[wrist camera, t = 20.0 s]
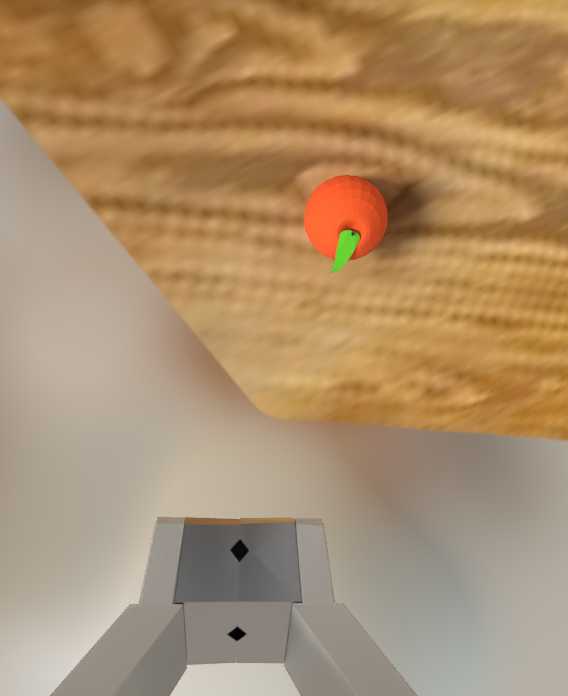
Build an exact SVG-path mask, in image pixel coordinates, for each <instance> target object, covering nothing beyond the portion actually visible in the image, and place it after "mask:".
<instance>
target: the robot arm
mask: <svg viewBox="0 0 568 696" xmlns="http://www.w3.org/2000/svg"><path fill="white" fill-rule="evenodd" d="M236 662H237V663H285V665H284V666H285V668H286V670H287V672H288V674H289V675H290V677H291V679H292V681H293V682H294V684H295V686H296V688H297V689H298V691H299V693H300V695H301V696H417V695H416V693H415V692H414V691H413V689H412V688H411V687H410V686H409V685H408V683H407V682H406V681H405V679H404V678H403V677H402V676H401V675H400V673H399V672H398V671H397V670H396V668H395V667H394V666H393V664H391V662H390V661H389V660H388V658H387V657H386V656H385V655H384V653H383V652H382V651H381V650H380V648H379V647H378V646H377V645H376V643H375V642H374V641H373V640H372V638H371V637H370V636H369V635H368V633H367V632H366V631H365V630H364V629H363V627H362V626H361V625H360V623H359V622H358V621H357V620H356V618H355V617H354V616H353V615H352V613H351V612H350V611H349V610H348V609H347V607H346V606H345V605H344V604H343V603H335V600H334V593H333V587H332V579H331V572H330V564H329V558H328V550H327V543H326V536H325V530H324V523H323V522H322V520H321V519H320V518H317V519H316V518H310V519H308V518H307V519H306V518H301V519H299V518H298V519H297V518H295V519H293V518H240V519H216V518H188V517H158V518H157V520H156V523H155V525H154V530H153V534H152V540H151V545H150V550H149V555H148V560H147V566H146V570H145V575H144V580H143V585H142V590H141V596H140V601H139V604H130V605H129V606H128V607H127V608H126V609H125V611H124V612H123V613H122V614H121V615H120V616H119V618H118V619H117V620H116V621H115V622H114V623H113V624H112V626H111V627H110V628H109V629H108V630H107V631H106V632H105V634H104V635H103V636H102V637H101V638H100V639H99V640H98V641H97V643H96V644H95V645H94V646H93V647H92V648H91V650H90V651H89V652H88V653H87V654H86V655H85V657H83V659H82V660H81V661H80V662H79V663H78V664H77V666H76V667H75V668H74V669H73V670H72V671H71V672H70V674H69V675H68V676H67V677H66V678H65V679H64V680H63V681H62V683H61V684H60V685H59V686H58V687H57V688H56V689H55V691H54V692H53V693H52V694H51V695H50V696H170V694H171V692H172V691H173V690H174V688H175V686H176V685H177V683H178V681H179V680H180V678H181V677H182V675H183V673H184V672H185V670H186V668H187V665H193V664H215V663H236Z"/></svg>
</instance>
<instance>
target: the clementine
mask: <svg viewBox="0 0 568 696" xmlns="http://www.w3.org/2000/svg"><path fill="white" fill-rule="evenodd" d="M304 222H305V230H306V233H307V235H308V238H309V240H310V241H311V243H312V244H313V245H314V247H315V248H316V249H317V250H318V251H319V252H320V253H322V254H323V255H325V256H326V257H329V258H332V259H334V260H335V261H334V265H333V269H332V271H331V272H334V273H335V272H337V271H338V270H340V269H341V268H342V267H343V266H344V265H345V263H346V262H347V261H348V260H355V259H358V258H361V257H363V256H365V255H367V254H368V253H369V252H371V251H372V250H373V249H374V248H375V247H376V246H377V245H378V244H379V242H380V241H381V239H382V237H383V235H384V233H385V231H386V227H387V223H388V213H387V208H386V204H385V201H384V198H383V196H382V195H381V193H380V192H379V190H378V189H377V188H376V187H375V186H373V185H372V184H371V183H370V182H368V181H367V180H364V179H362V178H360V177H357V176H349V175H344V176H338V177H334V178H332V179H330V180H327V181H325V182H324V183H323V184H321V185H320V186H319V187H318V188H317V189H316V190H315V191H314V192H313V194H312V195H311V196H310V199H309V201H308V203H307V206H306V211H305V218H304Z"/></svg>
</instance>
